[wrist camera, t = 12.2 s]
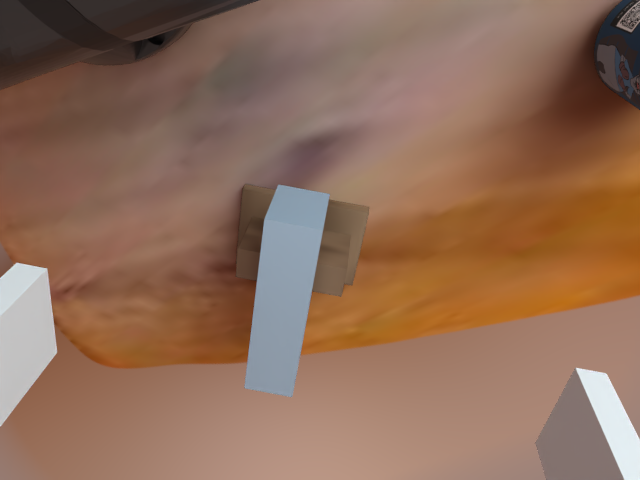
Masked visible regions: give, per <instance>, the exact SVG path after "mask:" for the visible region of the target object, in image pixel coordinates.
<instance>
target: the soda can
mask: <svg viewBox="0 0 640 480" xmlns="http://www.w3.org/2000/svg"><path fill="white" fill-rule="evenodd" d="M594 60H595V66H596V70H597V72H598V75H599V77H600V78H601V80H602V81H603V83H604V84H605V85H606V86H607V87H608V88H609V89H611V90H612V91H614V92H615V93H617V94H618V95H619V96H621V97H622V98H624V99H625V100H626V101H628V102H629V103H631V104H632V105H634V106H635V107H636V108H638V109H639V110H640V0H622V1H621V2H620V3H619V4H618V5H617V6H616V7H615V8H614V9H613V10H612V11H611V13H610V14H609V15H608V16H607V18H606V19H605V21H604V23H603V24H602V26H601V28H600V30H599V33H598V36H597V39H596V43H595V49H594Z"/></svg>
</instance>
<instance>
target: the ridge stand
mask: <svg viewBox="0 0 640 480" xmlns="http://www.w3.org/2000/svg"><path fill="white" fill-rule="evenodd" d="M275 192H276V190H274V189H269V188H263V187H258V186H252V185H247V184H245V186H244V188H243V191H242V202H241V213H240V224H239V234H238V245H237V256H236V264H237V268H236V277H239V278H244V279H249V280H255V281H257V277H258V269H259V260H260V252H261V243H262V235H263V227H264V219H265V216H266V214H267V211H268V209H269V206H270V204H271V202H272V199H273V197H274V194H275ZM368 214H369V207H366V206H360V205H355V204H349V203H344V202H339V201H333V200H329V201H328V207H327V212H326V218H325V223H324V229H323V234H322V239H321V245H320V250H319V256H318V261H317V267H316V272H315V278H314V283H313V289H312V291H313V292H319V293H324V294H329V295H335V296H340V297H341V296H342V292H343V287H344V284H347V285H353V280H354V276H355V272H356V267H357V263H358V258H359V254H360V250H361V245H362V241H363V236H364V232H365V228H366V223H367V219H368Z"/></svg>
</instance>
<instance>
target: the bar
mask: <svg viewBox="0 0 640 480" xmlns="http://www.w3.org/2000/svg"><path fill="white" fill-rule="evenodd" d="M329 196H330V194H326V193H321V192H316V191H310V190H305V189H299V188H294V187H289V186H283V185H278V187H277V189H276V192H275V194H274V197H273V199H272V202H271V204H270V206H269V209H268V211H267V214H266V216H265V219H264V227H263V235H262V243H261V252H260V260H259V269H258V277H257V286H256V294H255V303H254V311H253V319H252V328H251V336H250V345H249V353H248V362H247V370H246V379H245V388H246V389H252V390H257V391H262V392H267V393H273V394H278V395H284V396H288V397H292V395H293V390H294V385H295V380H296V374H297V369H298V364H299V359H300V354H301V349H302V343H303V338H304V332H305V327H306V321H307V316H308V310H309V305H310V300H311V294H312V289H313V283H314V278H315V272H316V267H317V261H318V256H319V250H320V245H321V239H322V234H323V229H324V223H325V218H326V212H327V207H328V201H329Z"/></svg>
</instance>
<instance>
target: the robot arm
mask: <svg viewBox="0 0 640 480" xmlns="http://www.w3.org/2000/svg"><path fill="white" fill-rule="evenodd" d="M256 1H259V0H0V90H2V89H4V88H7V87H10V86H12V85H15V84H18V83H20V82H23V81H26V80H28V79H31V78H34V77H37V76H40V75H42V74H45V73H48V72H51V71H54V70H56V69H59V68H62V67H65V66H68V65H70V64H73V63H76V62H79V61H80V62H85V63H89V64H96V65H122V64H128V63H133V62H137V61H140V60H143V59H146V58H148V57H150V56H152V55H154V54H156V53H158V52H160V51H161V50H163V49H165V48H167V47H168V46H170V45H171V44H173V43H174V42H175V41H176V40H178V39H179V38H180V37H181V36H182V35H183V34H184V33H185V32H186V31H187V30H188V28H189V27H190V26H191V25H192V23H194V22H197V21H200V20H203V19H206V18H209V17H212V16H215V15H218V14H221V13H224V12H227V11H229V10H232V9H235V8H238V7H241V6H244V5H247V4H250V3H253V2H256ZM56 353H57V347H56V338H55V329H54V321H53V313H52V304H51V296H50V287H49V279H48V271H47V268H42V267H36V266H31V265H26V264H20V263H16V264H15V265H14V266H13V267H12V268H10V270H8V271H7V272H6V273H5V274H4V275H3V276H2V277H1V278H0V426H1V425H2V424H3V422H4V421H5V420H6V419H7V417H8V416H9V414H10V413H11V412H12V411H13V409H14V408H15V407H16V406H17V404H18V403H19V402H20V400H21V399H22V398H23V396H24V395H25V394H26V393H27V391H28V390H29V389H30V387H31V385H32V384H33V383H34V382H35V381H36V379H37V378H38V377H39V376H40V374H41V373H42V372H43V370H44V369H45V368H46V366H47V365H48V364H49V362H50V361H51V360H52V358H53V357H54V356H55V354H56ZM536 447H537V450H538V453H539V457H540V460H541V463H542V467H543V470H544V474H545V477H546V480H640V439H639V437H638V436H637V434H636V432H635V430H634V428H633V426H632V424H631V422H630V420H629V418H628V416H627V414H626V412H625V410H624V408H623V406H622V404H621V402H620V400H619V398H618V396H617V394H616V392H615V390H614V388H613V386H612V384H611V382H610V380H609V378H608V376H607V374H606V373H601V372H596V371H590V370H584V369H580V368H575V369H574V371H573V373H572V375H571V377H570V379H569V381H568V382H567V384H566V386H565V388H564V390H563V392H562V394H561V396H560V397H559V399H558V402H557V403H556V405H555V407H554V409H553V411H552V412H551V414H550V416H549V418H548V420H547V422H546V424H545V426H544V427H543V429H542V431H541V433H540V435H539V437H538V439H537V441H536Z"/></svg>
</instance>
